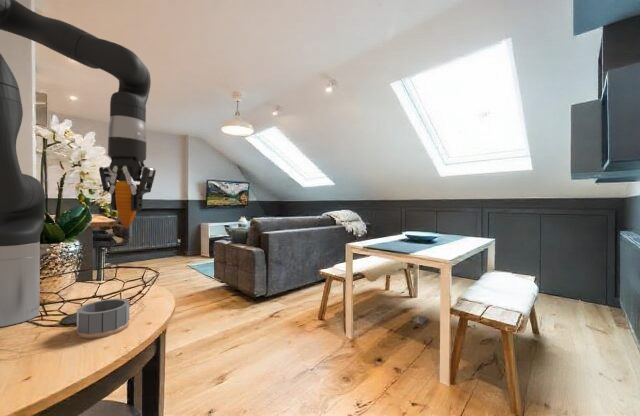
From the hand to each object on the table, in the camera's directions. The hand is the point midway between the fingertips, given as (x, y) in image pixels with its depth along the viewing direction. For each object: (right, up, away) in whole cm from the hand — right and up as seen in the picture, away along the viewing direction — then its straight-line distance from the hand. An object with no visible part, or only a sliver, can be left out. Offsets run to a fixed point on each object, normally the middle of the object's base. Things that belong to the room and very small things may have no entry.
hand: (126, 210), depth 67 cm
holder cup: (0, -25, -7) cm, 26 cm away
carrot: (0, -5, 0) cm, 5 cm away
